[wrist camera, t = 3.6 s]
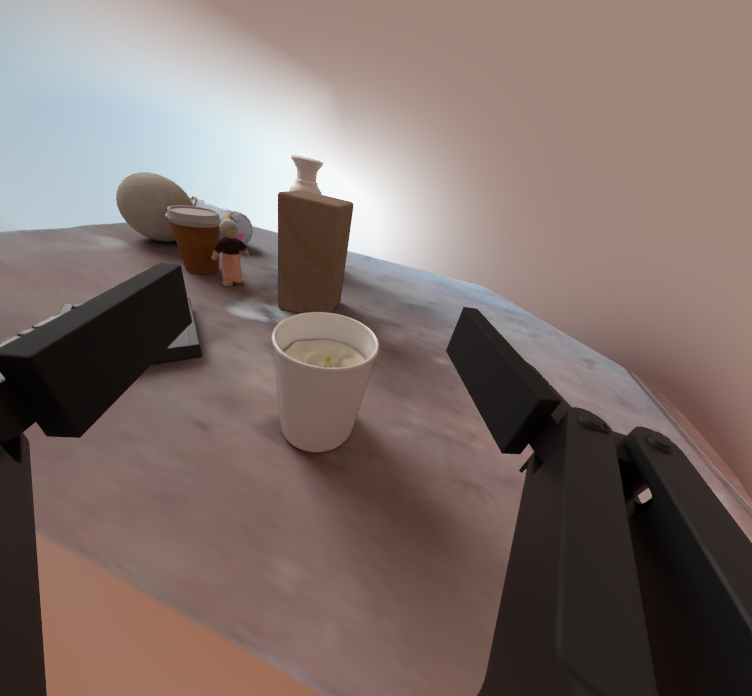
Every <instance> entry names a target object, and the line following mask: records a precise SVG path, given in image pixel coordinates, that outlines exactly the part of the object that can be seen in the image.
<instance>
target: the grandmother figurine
mask: <svg viewBox="0 0 752 696" xmlns="http://www.w3.org/2000/svg"><path fill="white" fill-rule="evenodd" d="M219 227H220V230H221V231H222V232H223V234H224V236H225V238H222V239H220V241H219V242H218V244H217V245H216V247H215V248H214V251H213V255H212V257H211V258H212V260H217V257H218V256H219V254H220V253H221V252H223V259H222V279H224V280H223V281H222V284H223V285H224V286H232V285H233V282H234V283H235V284H243V283H244V281H243V280H242V272H241V266H240V254H239V250H242V251H243V252H244V255H245V256H248V255H249V252H248V250H247V247H246V245H245V244H244V243H243V242H242V241H241V240H239V239H236V236H237V232H238V230H239V227H238V225H237V223H235V222H234V221H232V220H230V219H225V220H223V221H221V223H220V225H219Z"/></svg>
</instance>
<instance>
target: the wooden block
mask: <svg viewBox="0 0 752 696" xmlns="http://www.w3.org/2000/svg"><path fill="white" fill-rule="evenodd" d="M352 211H353V203H351V202H348V201H344V200H340V199H335V198H331V197H327V196H323V195H319V194H315V193H311V192H306V191H293V192H280V193H279V194H278V307H279V308H281V309H285V310H289V311H293V312H297V313H308V312H326V313H332V312H333V310H334V309H335V308H336V306H337V305H338V303H339V302H340V300H341V293H342V285H343V278H344V270H345V263H346V256H347V247H348V240H349V233H350V226H351V219H352Z"/></svg>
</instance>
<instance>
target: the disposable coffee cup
mask: <svg viewBox="0 0 752 696" xmlns="http://www.w3.org/2000/svg"><path fill="white" fill-rule="evenodd" d="M165 216H166V217H167V218H168V221H170V224H171V227H172V230H173V233H174V236H175V239H176V242H177V245H178V247H179V250H180V253H181V256H182V259H183V262H184V265H185V268H186V270H187V271H189V272H192V273H196V274H211V273H215V272H217V271H219V256H218V257H217V260H212V258H211V257H212V255H213V251H214V248H215V247H216V245H217V244H218V242H219V236H220V235H219V233H220V231H219V230H220V227H219V225H220V223H221V221H222V220H221V219H220V217H219V214H218V212H216V211H214V210H211V209H207V208H202V207H195V206H185V205H174V206H169V207H167V213H166V214H165Z"/></svg>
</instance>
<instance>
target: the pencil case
mask: <svg viewBox="0 0 752 696" xmlns="http://www.w3.org/2000/svg"><path fill="white" fill-rule="evenodd" d="M190 200H191V202H192V204H193V206H195V207H202V208H207V209H211V210H214V211H216V212H218V214H219V217H220V219H221V220H222V221H223V220H225V219H230V220H232V221H234V222H235V223H237V225H238V227H239V230H238V232H237V236H236V239H239V240H241V241H242V242H243V243H244V244H245V245H246V244H247V243H248V242H249V241H250V239H251V237H252V232H253V229H252V225H251V223H250V221H249V219H248V218H247V217H246V216H245V215H243V214H241V213H239V212H235V211H230V210H226V209H220V208H217V207H215V206H212V205H210V204H207V203H205V202H203V201H202V200H200V199H198V198H196V197H192V198H190ZM219 231H220V233H219V235H220V236H219V240H220V239H222V238H225V236H224V234H223V232H222V231H221V230H219Z"/></svg>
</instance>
